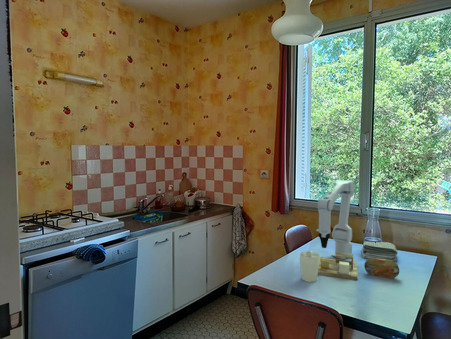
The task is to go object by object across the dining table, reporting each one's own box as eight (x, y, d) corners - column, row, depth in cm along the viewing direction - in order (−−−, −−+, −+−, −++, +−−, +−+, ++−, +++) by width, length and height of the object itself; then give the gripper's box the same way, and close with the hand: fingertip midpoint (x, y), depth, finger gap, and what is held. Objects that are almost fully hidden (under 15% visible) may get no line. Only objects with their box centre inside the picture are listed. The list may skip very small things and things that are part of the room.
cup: (308, 284, 138) (309, 258, 137) (295, 277, 146) (295, 252, 145) (323, 281, 142) (324, 255, 141) (309, 274, 150) (310, 250, 149)
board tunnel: (319, 259, 171) (319, 246, 170) (356, 264, 164) (356, 250, 163) (315, 273, 150) (315, 258, 150) (357, 280, 143) (358, 264, 143)
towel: (398, 263, 167) (398, 248, 167) (361, 258, 175) (361, 244, 174) (395, 254, 181) (395, 241, 181) (361, 250, 189) (361, 238, 188)
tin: (364, 274, 151) (364, 257, 150) (364, 272, 153) (364, 255, 153) (399, 280, 144) (399, 262, 143) (398, 278, 146) (399, 260, 146)
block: (339, 269, 151) (339, 261, 151) (348, 270, 149) (349, 262, 149) (339, 272, 147) (339, 264, 147) (348, 273, 146) (349, 265, 145)
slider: (320, 266, 155) (321, 259, 155) (350, 270, 150) (350, 263, 150) (319, 270, 150) (320, 263, 150) (350, 275, 145) (350, 267, 144)
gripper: (317, 218, 167) (317, 242, 167) (315, 224, 153) (314, 250, 154) (331, 219, 164) (330, 244, 165) (330, 225, 150) (329, 252, 151)
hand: (324, 247), depth 159 cm, fingers closed
